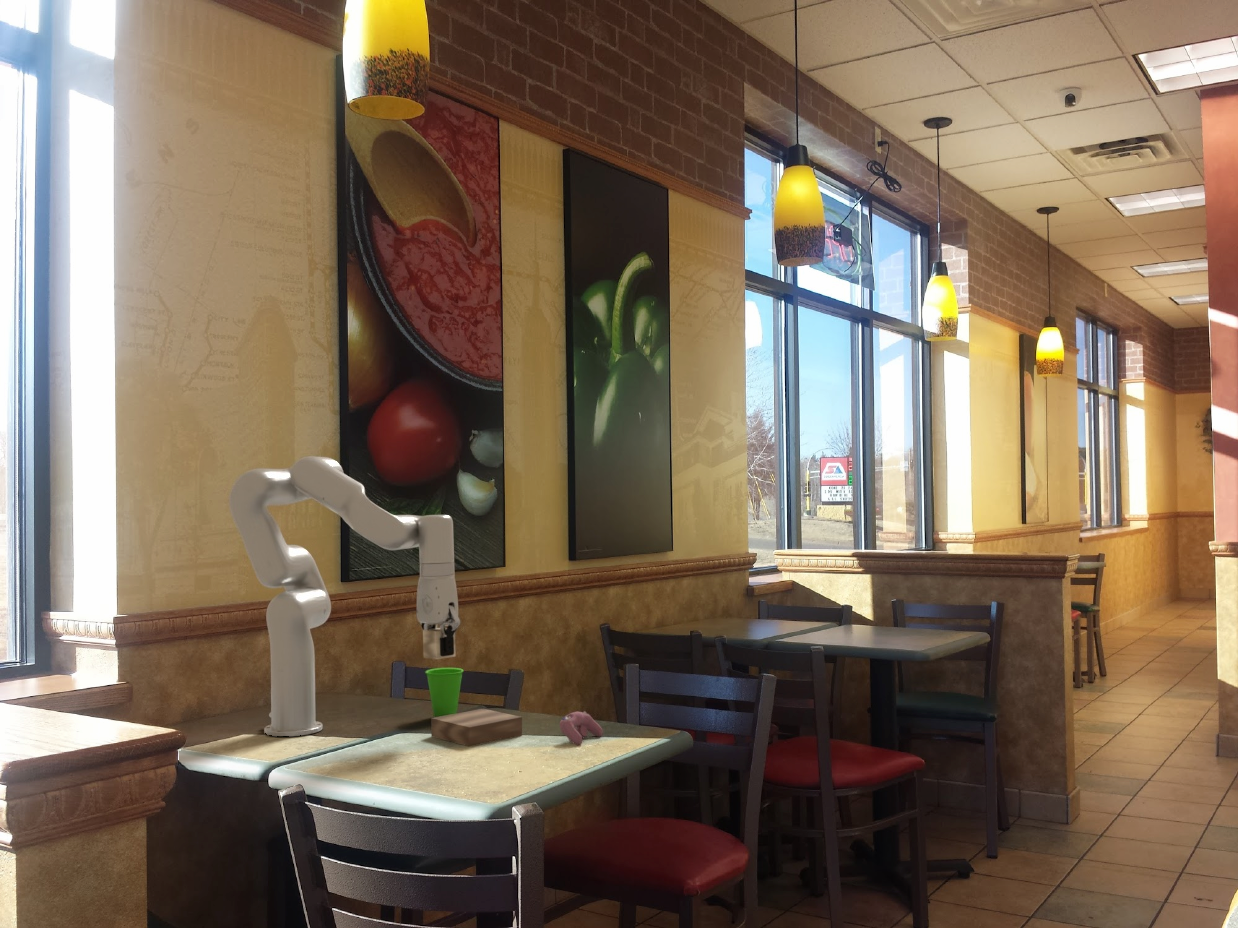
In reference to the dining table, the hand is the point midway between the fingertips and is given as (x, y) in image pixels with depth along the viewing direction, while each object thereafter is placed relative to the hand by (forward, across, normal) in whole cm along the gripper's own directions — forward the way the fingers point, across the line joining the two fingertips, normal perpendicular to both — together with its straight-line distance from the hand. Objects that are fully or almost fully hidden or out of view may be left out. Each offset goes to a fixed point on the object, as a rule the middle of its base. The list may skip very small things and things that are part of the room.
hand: (439, 653), depth 242 cm
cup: (+18, -16, +12) cm, 27 cm away
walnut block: (+18, +6, +5) cm, 20 cm away
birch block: (+1, 0, 0) cm, 1 cm away
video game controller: (+19, +25, +18) cm, 36 cm away
